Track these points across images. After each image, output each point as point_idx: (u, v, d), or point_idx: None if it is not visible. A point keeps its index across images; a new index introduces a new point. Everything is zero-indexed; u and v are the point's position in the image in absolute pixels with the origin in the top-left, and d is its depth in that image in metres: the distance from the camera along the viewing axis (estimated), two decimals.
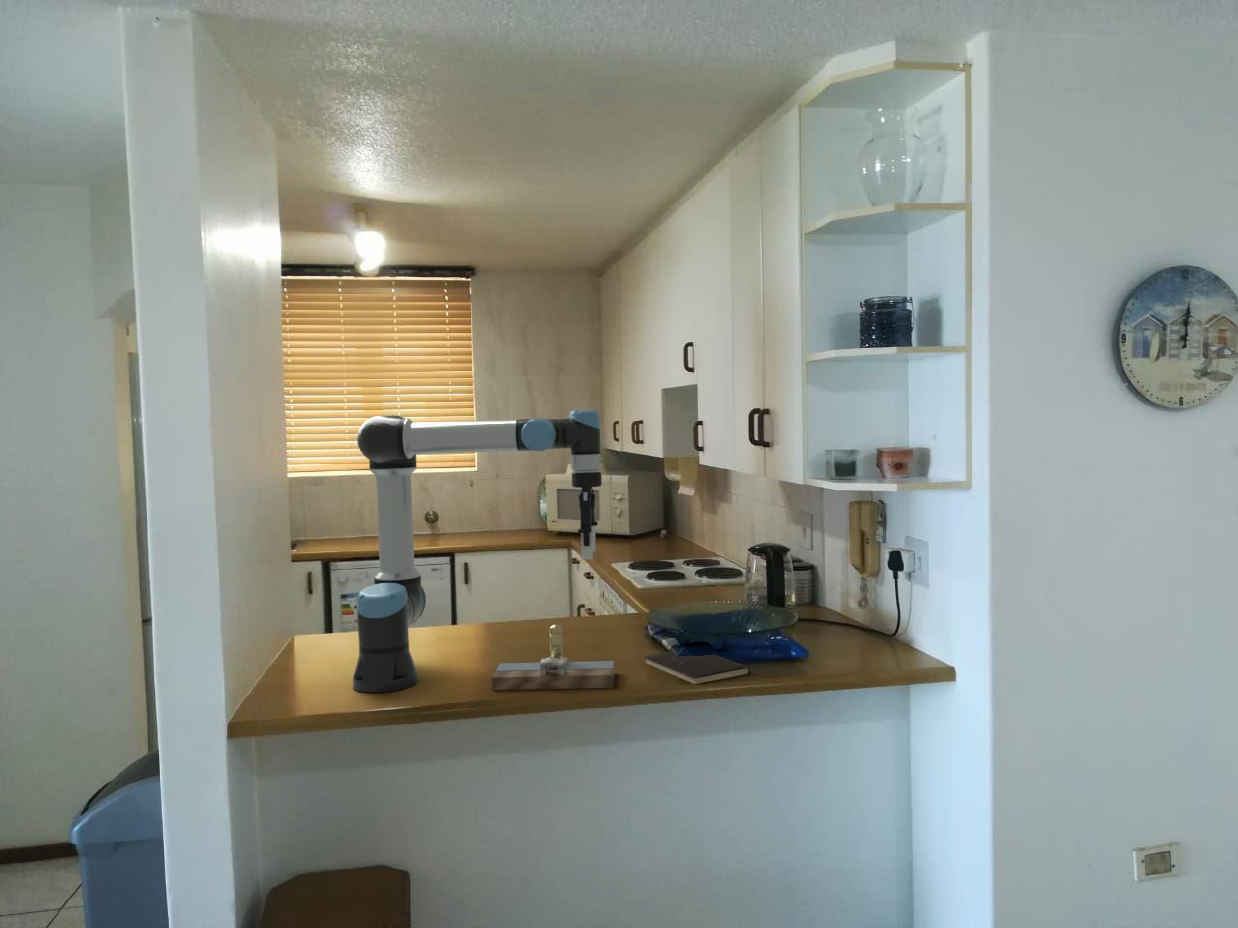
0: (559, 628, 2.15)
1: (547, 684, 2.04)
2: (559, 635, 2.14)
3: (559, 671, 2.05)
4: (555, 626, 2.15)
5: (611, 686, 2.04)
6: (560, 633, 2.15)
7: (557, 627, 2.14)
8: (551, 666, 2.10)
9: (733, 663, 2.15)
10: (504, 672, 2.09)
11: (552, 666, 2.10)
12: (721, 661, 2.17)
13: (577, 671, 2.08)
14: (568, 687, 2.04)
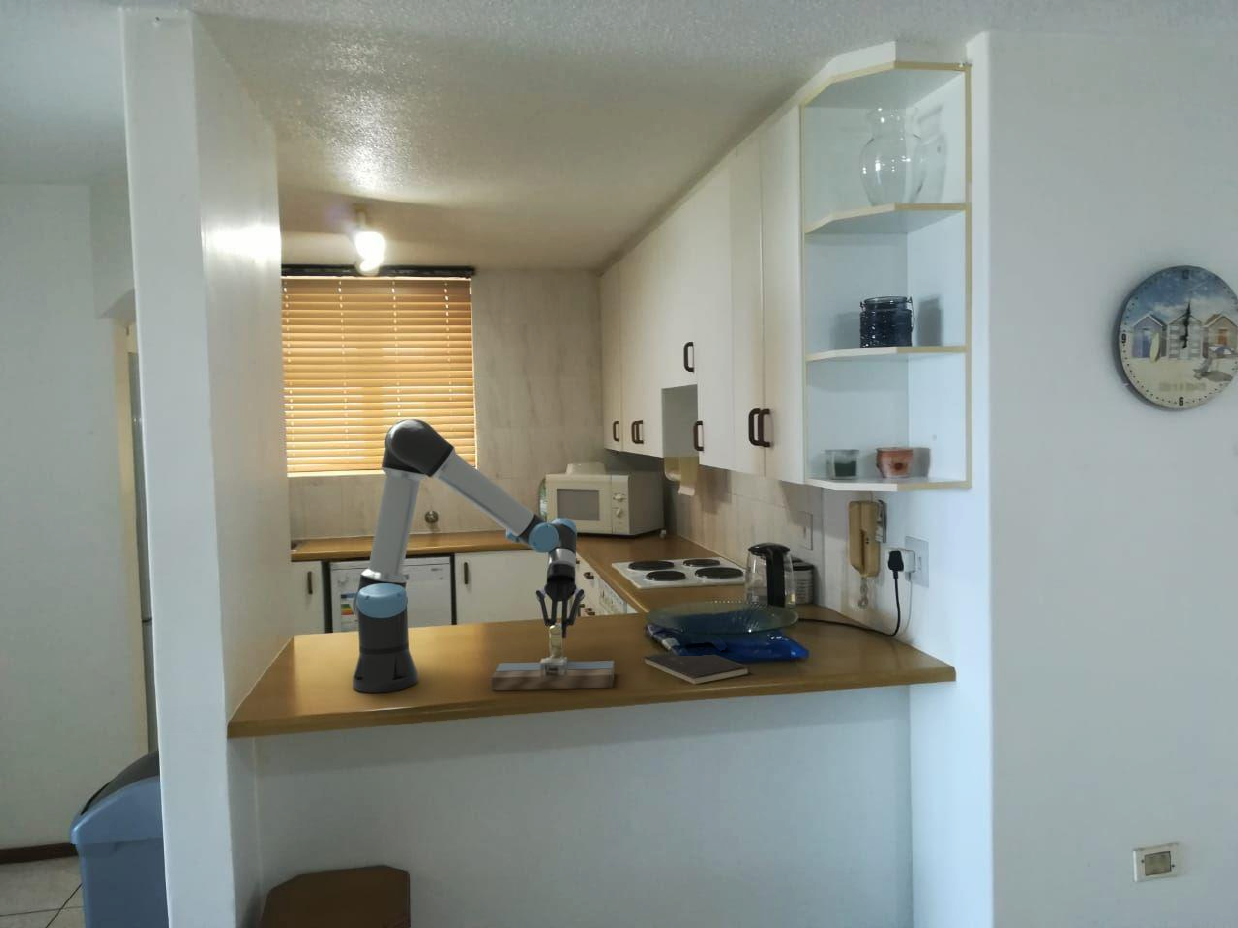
0: (559, 629, 2.14)
1: (547, 684, 2.04)
2: (559, 636, 2.14)
3: (559, 671, 2.05)
4: (555, 627, 2.14)
5: (611, 686, 2.04)
6: (560, 634, 2.14)
7: (557, 628, 2.14)
8: (551, 667, 2.10)
9: (733, 663, 2.15)
10: (504, 672, 2.09)
11: (552, 667, 2.10)
12: (721, 661, 2.17)
13: (577, 671, 2.08)
14: (568, 687, 2.04)
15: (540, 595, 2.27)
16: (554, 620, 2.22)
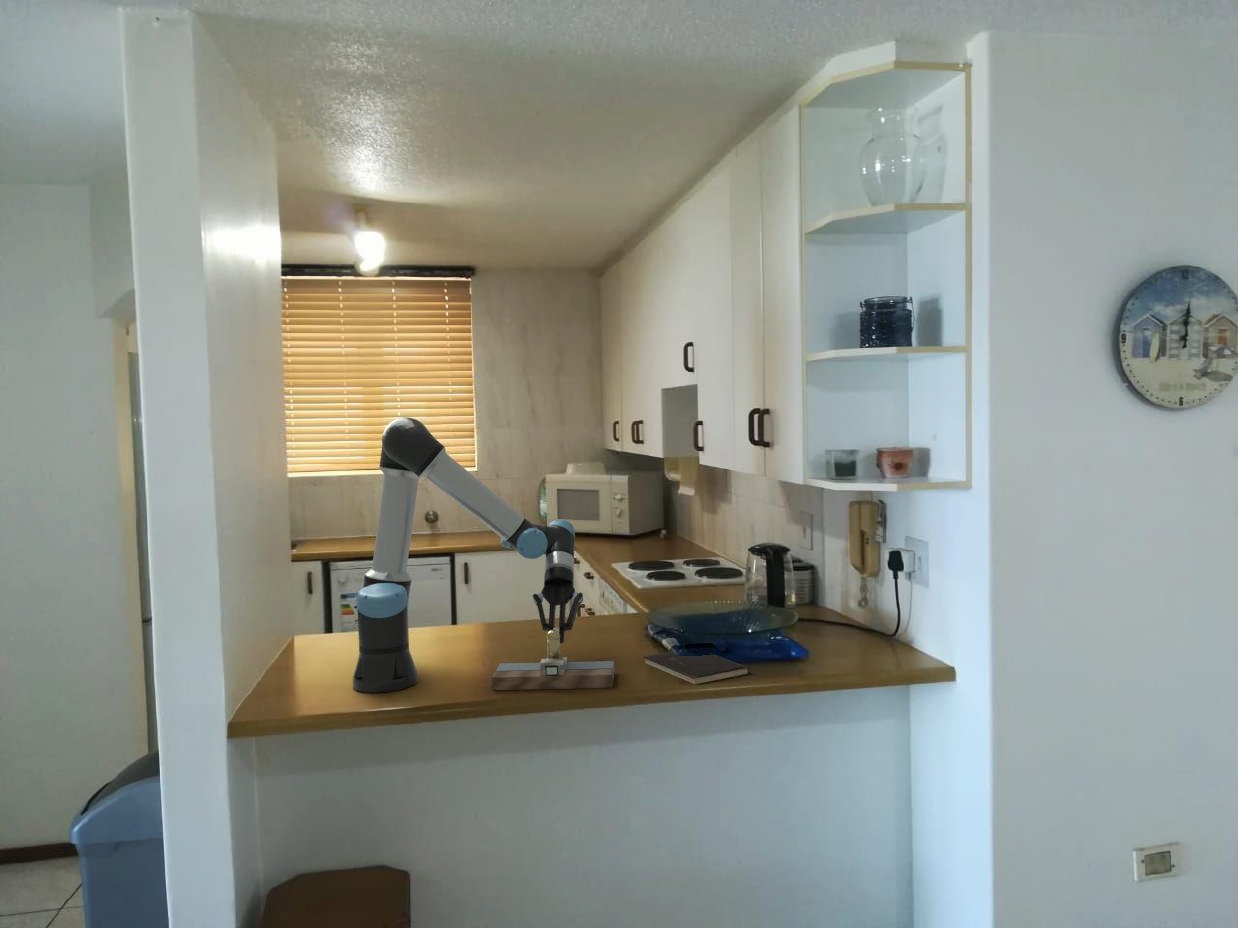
0: (557, 634, 2.09)
1: (547, 684, 2.04)
2: (557, 641, 2.09)
3: (559, 671, 2.05)
4: (553, 631, 2.09)
5: (611, 686, 2.04)
6: (558, 639, 2.09)
7: (555, 632, 2.09)
8: (548, 673, 2.05)
9: (733, 663, 2.15)
10: (504, 672, 2.09)
11: (549, 673, 2.05)
12: (721, 661, 2.17)
13: (577, 671, 2.08)
14: (568, 687, 2.04)
15: (537, 599, 2.22)
16: (552, 625, 2.17)
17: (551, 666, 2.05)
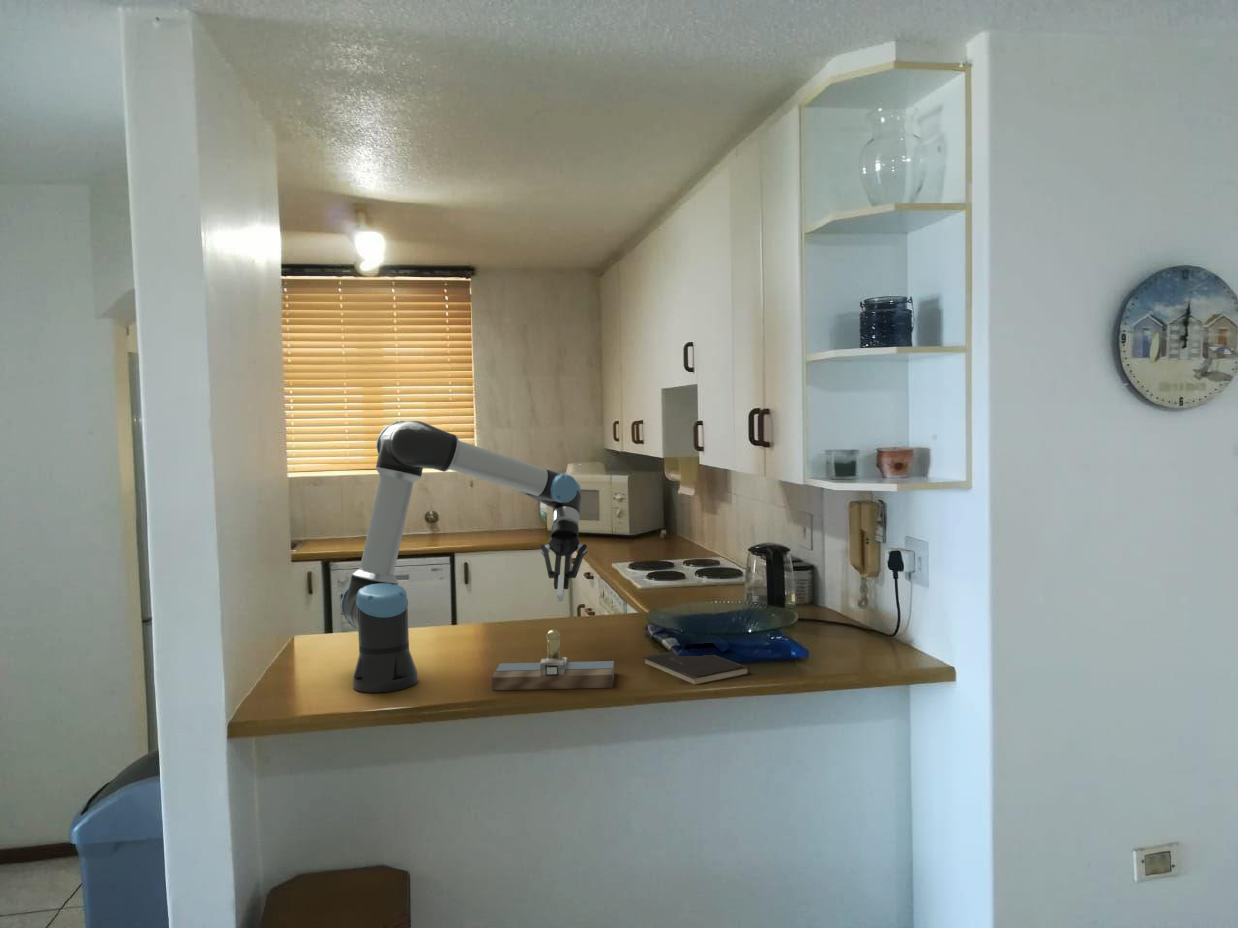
0: (557, 633, 2.09)
1: (547, 684, 2.04)
2: (557, 641, 2.09)
3: (559, 671, 2.05)
4: (553, 631, 2.09)
5: (611, 686, 2.04)
6: (558, 638, 2.09)
7: (555, 632, 2.09)
8: (549, 672, 2.05)
9: (733, 663, 2.15)
10: (504, 672, 2.09)
11: (550, 672, 2.05)
12: (720, 661, 2.17)
13: (577, 671, 2.08)
14: (568, 687, 2.04)
15: (544, 549, 2.37)
16: (557, 572, 2.32)
17: (551, 666, 2.05)
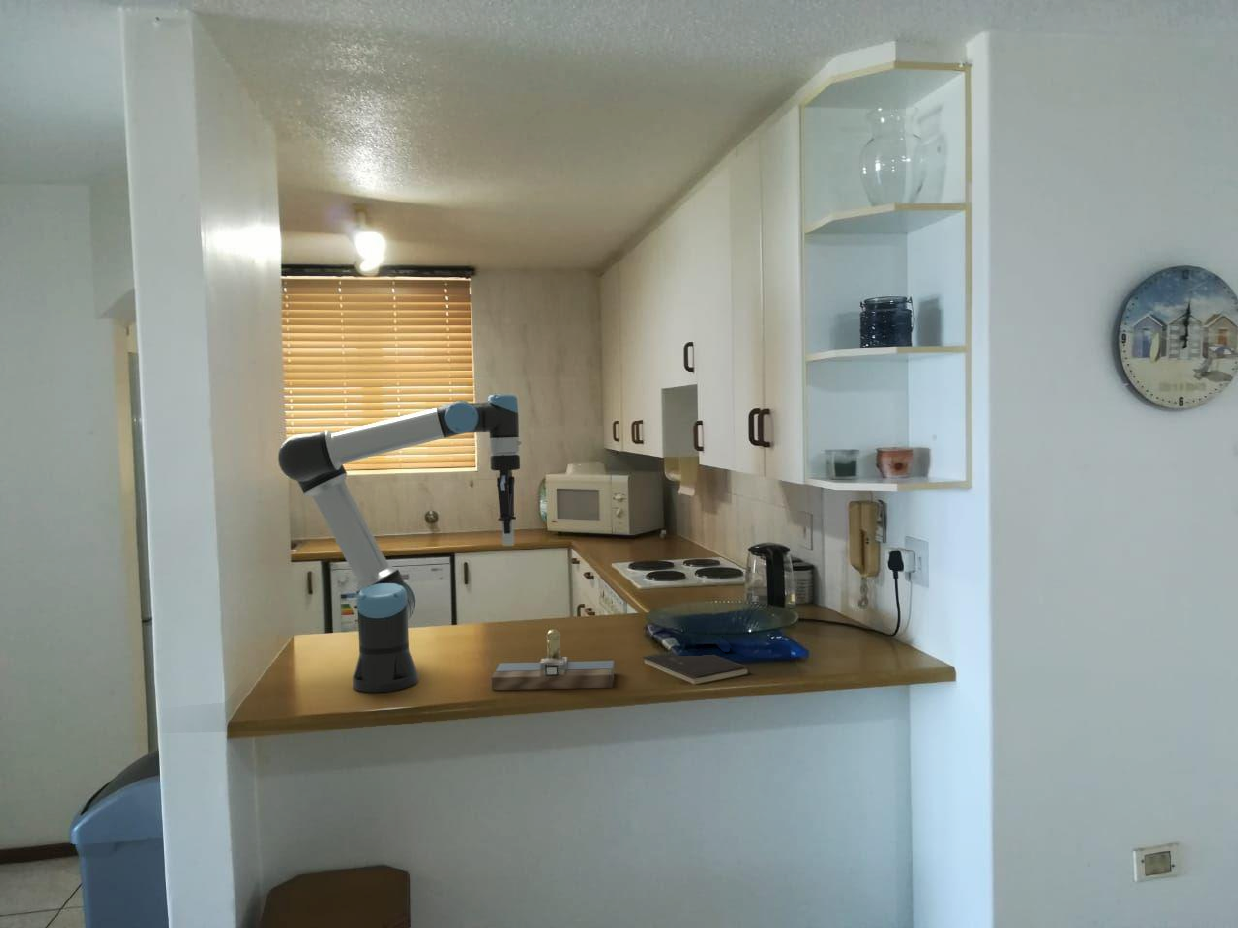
0: (557, 633, 2.09)
1: (547, 684, 2.04)
2: (557, 641, 2.09)
3: (559, 671, 2.05)
4: (553, 631, 2.09)
5: (611, 686, 2.04)
6: (558, 638, 2.09)
7: (555, 632, 2.09)
8: (549, 672, 2.05)
9: (732, 663, 2.15)
10: (504, 672, 2.09)
11: (550, 672, 2.05)
12: (720, 661, 2.17)
13: (577, 671, 2.08)
14: (568, 687, 2.04)
15: None
16: None
17: (551, 666, 2.05)
